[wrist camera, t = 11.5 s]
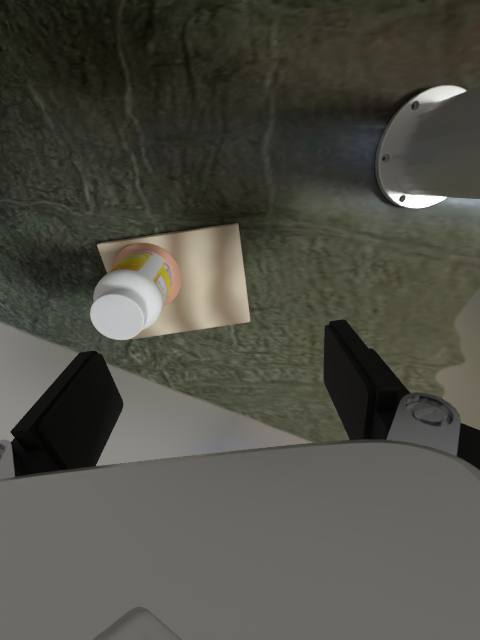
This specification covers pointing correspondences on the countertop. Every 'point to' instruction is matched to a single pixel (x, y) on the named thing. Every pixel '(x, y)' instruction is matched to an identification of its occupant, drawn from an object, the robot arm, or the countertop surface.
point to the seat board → (193, 277)
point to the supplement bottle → (131, 295)
